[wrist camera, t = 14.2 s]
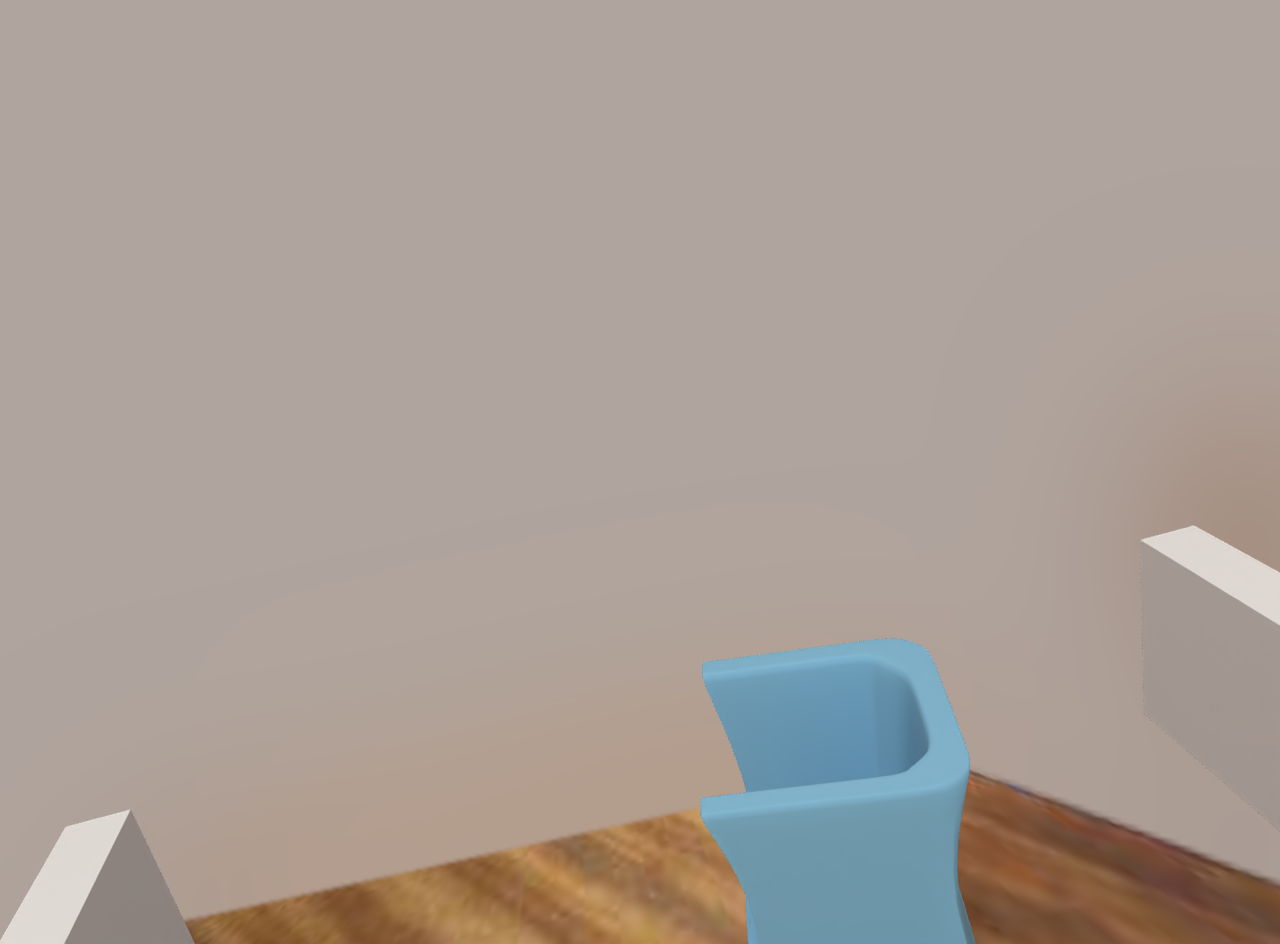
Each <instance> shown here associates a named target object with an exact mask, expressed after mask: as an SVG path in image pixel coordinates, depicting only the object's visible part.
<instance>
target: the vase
mask: <svg viewBox="0 0 1280 944" xmlns="http://www.w3.org/2000/svg"><path fill="white" fill-rule="evenodd" d="M702 670H703V671H702V677H703V680H704V683H705V686H706V688H707V691H708V693H709V695H710V697H711V700H712V702H713V704H714V706H715V709H716V711H717V713H718V715H719V718H720V720H721V722H722V724H723V727H724V729H725V732H726V734H727V736H728V739H729V741H730V744H731V746H732V749H733V752H734V755H735V757H736V760H737V763H738V765H739V768H740V771H741V774H742V777H743V781H744V784H745V788H746V792H745V793H737V794H729V795H720V796H711V797H703V798H701V811H700V816H701V818H702V820H703V822H704V824H705V826H706V827H707V829H708V830H709V832H710V833H711V835H712V836H713V838H714V839H715V841H716V842H717V844H718V845H719V847H720V848H721V850H722V851H723V853H724V855H725V856H726V858H727V860H728V861H729V863H730V865H731V867H732V868H733V870H734V872H735V874H736V876H737V878H738V880H739V882H740V884H741V886H742V889H743V891H744V893H745V895H746V914H747V932H748V944H976V943H975V940H974V936H973V933H972V930H971V926H970V923H969V920H968V916H967V913H966V909H965V906H964V902H963V899H962V896H961V892H960V889H959V885H958V866H957V858H958V844H959V831H960V824H961V817H962V811H963V804H964V799H965V794H966V789H967V784H968V778H969V773H970V758H969V753H968V750H967V747H966V745H965V742H964V739H963V737H962V734H961V731H960V728H959V726H958V723H957V720H956V718H955V715H954V713H953V710H952V707H951V705H950V702H949V700H948V697H947V694H946V692H945V689H944V686H943V684H942V681H941V679H940V676H939V674H938V671H937V668H936V666H935V663H934V661H933V659H932V657H931V655H930V654H929V652H928V651H927V650H926V649H925V648H924V647H922V646H921V645H919V644H916V643H913V642H910V641H907V640H903V639H876V640H868V641H859V642H851V643H843V644H836V645H828V646H821V647H814V648H806V649H798V650H792V651H784V652H777V653H769V654H762V655H754V656H746V657H739V658H732V659H724V660H717V661H709V662H704V663H703V668H702Z"/></svg>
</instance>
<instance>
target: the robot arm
mask: <svg viewBox="0 0 1280 944" xmlns="http://www.w3.org/2000/svg"><path fill="white" fill-rule="evenodd" d="M1140 542H1141V543H1140V544H1141V596H1142V647H1143V648H1142V649H1143V699H1144V700H1143V702H1144V714H1145V715H1146V716H1147V717H1148V718H1149V719H1150V720H1152V721H1153V722H1154V723H1155V724H1156V725H1157V726H1159V727H1160V728H1161V729H1162V730H1163V731H1164V732H1166V733H1167V734H1168V735H1169V736H1170V737H1171V738H1172V739H1174V740H1175V741H1176V742H1177V743H1178V744H1179V745H1180V746H1182V747H1183V748H1184V749H1185V750H1186V751H1187V752H1189V753H1190V754H1191V755H1192V756H1193V757H1194V758H1195V759H1197V760H1198V761H1199V762H1200V763H1201V764H1202V765H1204V766H1205V767H1206V768H1207V769H1208V770H1209V771H1210V772H1212V773H1213V774H1214V775H1215V776H1216V777H1217V778H1219V779H1220V780H1221V781H1222V782H1223V783H1224V784H1226V785H1227V786H1228V787H1229V788H1230V789H1231V790H1232V791H1234V792H1235V793H1236V794H1237V795H1238V796H1239V797H1240V798H1242V799H1243V800H1244V801H1245V802H1246V803H1248V805H1250V806H1251V807H1252V808H1253V809H1254V810H1256V811H1257V812H1258V813H1259V814H1260V815H1261V816H1263V818H1265V819H1266V820H1267V821H1268V822H1269V823H1270V824H1272V825H1273V826H1274V827H1275V828H1276V829H1278V831H1280V573H1279V572H1278V571H1276V570H1274V569H1272V568H1270V567H1269V566H1267V565H1265V564H1263V563H1261V562H1259V561H1257V560H1256V559H1254V558H1252V557H1250V556H1248V555H1247V554H1245V553H1243V552H1241V551H1239V550H1237V549H1236V548H1234V547H1232V546H1230V545H1228V544H1226V543H1225V542H1223V541H1221V540H1219V539H1217V538H1216V537H1213V536H1212V535H1210V534H1208V533H1207V532H1205V531H1203V530H1201V529H1199V528H1197V527H1196V526H1191V527H1187V528H1183V529H1180V530H1176V531H1172V532H1169V533H1165V534H1161V535H1157V536H1153V537H1150V538H1146V539H1142V540H1140ZM0 944H195V943H194V941H193V939H192V937H191V935H190V932H189V930H188V928H187V926H186V924H185V922H184V920H183V918H182V916H181V914H180V912H179V909H178V907H177V906H176V903H175V901H174V899H173V897H172V895H171V893H170V891H169V889H168V887H167V885H166V883H165V880H164V878H163V876H162V874H161V872H160V870H159V868H158V866H157V864H156V861H155V859H154V857H153V855H152V853H151V851H150V849H149V847H148V845H147V843H146V841H145V838H144V836H143V834H142V832H141V830H140V828H139V826H138V824H137V822H136V820H135V818H134V816H133V813H132V811H131V810H127V811H123V812H120V813H115V814H112V815H108V816H104V817H100V818H97V819H93V820H89V821H86V822H82V823H78V824H74V825H71V826H67V827H65V829H64V831H63V833H62V834H61V836H60V838H59V839H58V841H57V843H56V845H55V846H54V848H53V850H52V852H51V853H50V855H49V857H48V859H47V860H46V862H45V864H44V866H43V867H42V869H41V871H40V872H39V874H38V876H37V878H36V879H35V881H34V883H33V885H32V886H31V888H30V890H29V892H28V893H27V895H26V897H25V899H24V900H23V902H22V904H21V906H20V907H19V909H18V911H17V912H16V914H15V916H14V918H13V920H12V921H11V923H10V925H9V926H8V928H7V930H6V932H5V933H4V935H3V937H2V939H1V940H0Z"/></svg>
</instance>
